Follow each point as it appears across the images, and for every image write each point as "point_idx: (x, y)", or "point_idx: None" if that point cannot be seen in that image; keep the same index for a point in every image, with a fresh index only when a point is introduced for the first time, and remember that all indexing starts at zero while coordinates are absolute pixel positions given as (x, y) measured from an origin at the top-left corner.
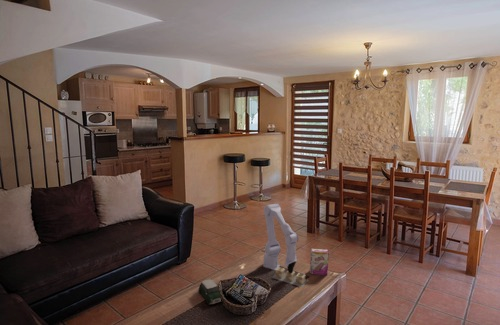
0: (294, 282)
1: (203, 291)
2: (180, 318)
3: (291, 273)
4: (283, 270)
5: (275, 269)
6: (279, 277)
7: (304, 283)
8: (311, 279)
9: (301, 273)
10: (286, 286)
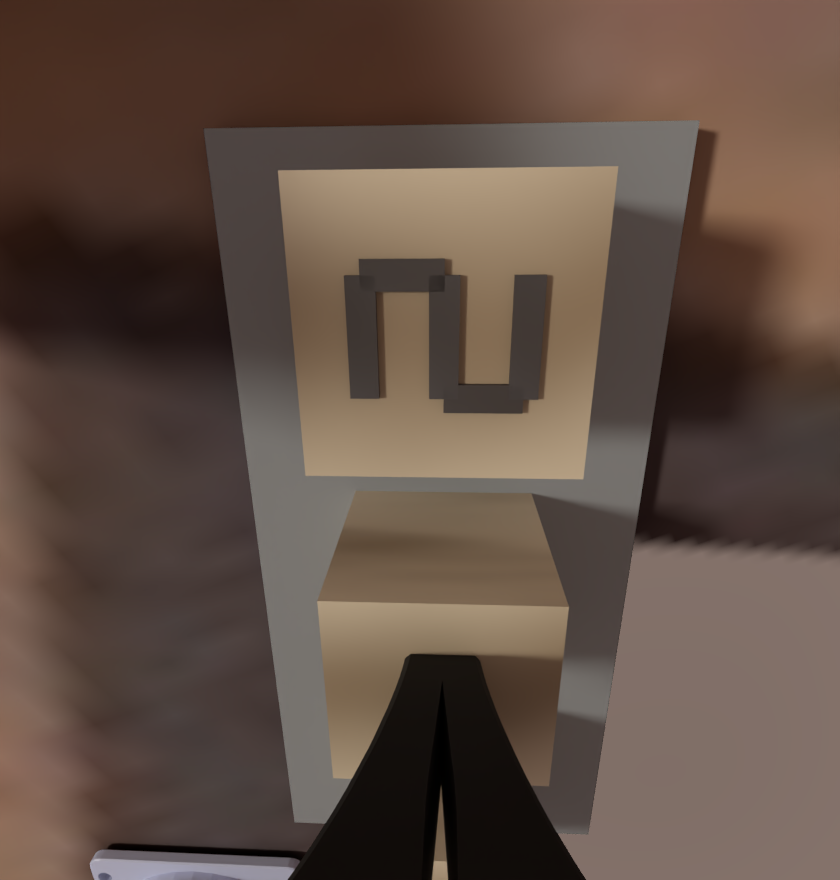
0: None
1: None
2: None
3: (503, 650)
4: (440, 852)
5: (278, 871)
6: None
7: (468, 162)
8: (92, 80)
9: (297, 364)
10: (760, 518)
